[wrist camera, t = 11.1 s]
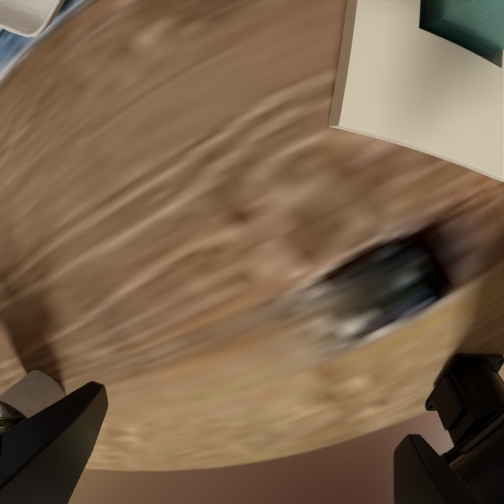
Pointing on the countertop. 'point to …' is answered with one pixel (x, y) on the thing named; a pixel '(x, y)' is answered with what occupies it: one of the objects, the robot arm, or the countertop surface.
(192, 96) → the countertop surface
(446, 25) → the teal rectangular block
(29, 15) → the salad plate
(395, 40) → the beige square hole board
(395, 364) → the countertop surface
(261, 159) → the countertop surface
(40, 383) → the house plant
